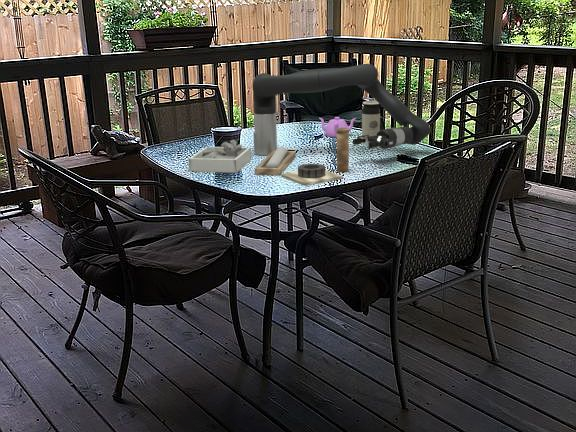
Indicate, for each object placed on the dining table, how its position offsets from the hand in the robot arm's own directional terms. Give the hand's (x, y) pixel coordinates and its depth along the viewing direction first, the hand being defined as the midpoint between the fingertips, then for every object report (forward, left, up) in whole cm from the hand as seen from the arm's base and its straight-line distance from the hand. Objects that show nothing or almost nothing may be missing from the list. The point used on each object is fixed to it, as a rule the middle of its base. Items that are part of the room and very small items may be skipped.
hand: (361, 143), depth 252 cm
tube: (-33, -1, -9) cm, 34 cm away
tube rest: (-33, -1, -9) cm, 34 cm away
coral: (-55, -4, -9) cm, 56 cm away
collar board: (-16, -18, -9) cm, 26 cm away
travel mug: (0, +46, -9) cm, 46 cm away
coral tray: (-55, -3, -9) cm, 56 cm away
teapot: (-17, +61, -9) cm, 64 cm away
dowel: (-6, -7, -9) cm, 13 cm away
